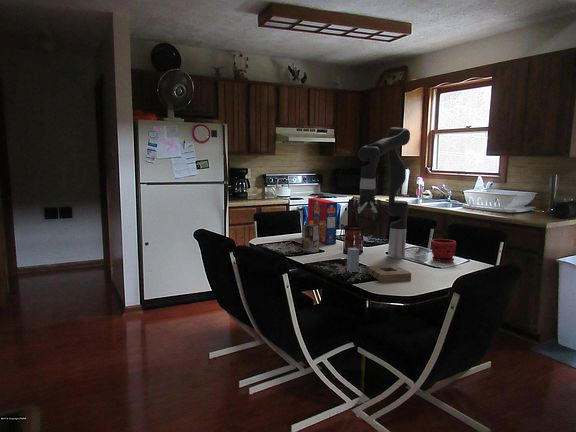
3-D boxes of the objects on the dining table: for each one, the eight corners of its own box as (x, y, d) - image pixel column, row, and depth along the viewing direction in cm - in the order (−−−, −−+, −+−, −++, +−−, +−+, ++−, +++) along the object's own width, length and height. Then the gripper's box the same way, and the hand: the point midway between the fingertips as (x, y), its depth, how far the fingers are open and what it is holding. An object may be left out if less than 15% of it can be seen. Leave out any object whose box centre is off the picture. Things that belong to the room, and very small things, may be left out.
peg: (346, 270, 214) (347, 248, 212) (354, 270, 215) (355, 247, 213) (350, 273, 210) (351, 250, 208) (358, 272, 211) (359, 249, 209)
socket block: (365, 272, 211) (366, 266, 211) (394, 270, 215) (394, 264, 215) (380, 282, 196) (381, 275, 195) (411, 280, 200) (411, 273, 200)
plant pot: (457, 260, 238) (458, 240, 236) (451, 265, 227) (453, 244, 226) (433, 257, 245) (435, 237, 244) (427, 261, 235) (428, 240, 233)
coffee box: (319, 251, 256) (320, 225, 253) (312, 252, 251) (313, 226, 249) (307, 248, 262) (308, 223, 259) (301, 250, 257) (301, 224, 255)
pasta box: (307, 236, 299) (308, 198, 295) (317, 236, 302) (318, 197, 298) (325, 244, 273) (326, 202, 269) (335, 244, 276) (337, 202, 272)
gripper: (376, 187, 210) (375, 219, 212) (351, 187, 206) (349, 219, 208) (384, 188, 203) (382, 221, 205) (357, 188, 199) (356, 222, 201)
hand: (366, 220), depth 207 cm, fingers open, 8 cm apart
